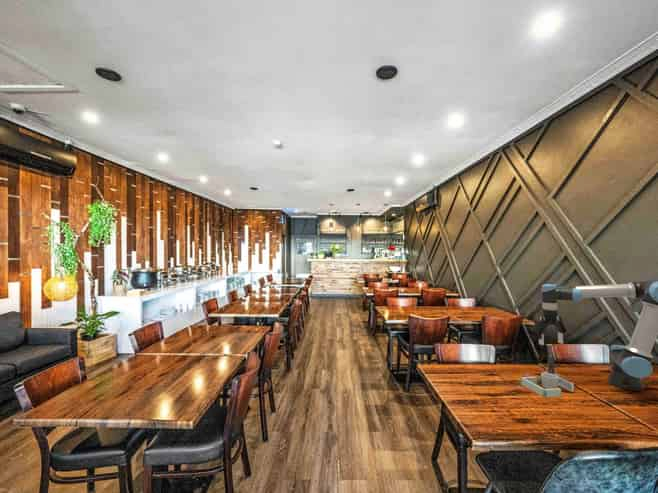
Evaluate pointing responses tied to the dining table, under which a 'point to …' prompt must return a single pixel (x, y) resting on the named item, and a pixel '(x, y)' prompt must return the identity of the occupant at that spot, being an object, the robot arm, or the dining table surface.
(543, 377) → the cup
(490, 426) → the dining table surface
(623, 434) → the dining table surface
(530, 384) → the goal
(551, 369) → the kicker
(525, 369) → the dining table surface
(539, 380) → the rail
